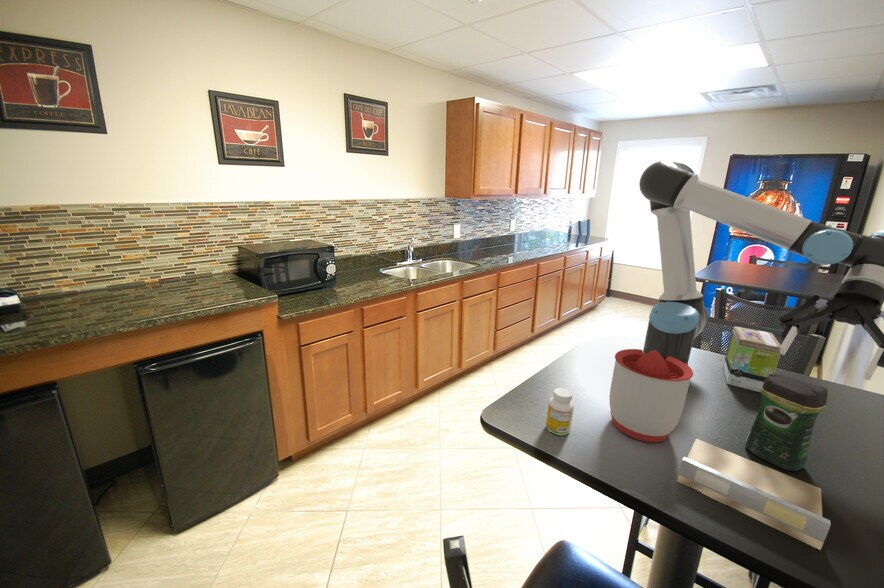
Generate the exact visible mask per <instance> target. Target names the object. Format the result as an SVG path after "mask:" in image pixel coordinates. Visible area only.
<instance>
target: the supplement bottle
mask: <svg viewBox="0 0 884 588" xmlns="http://www.w3.org/2000/svg"><path fill="white" fill-rule="evenodd" d="M572 399H573V393H572V391H571V390H570V389H569V390H568V389H567V388H562V387H559V388H558V387H557V388H555V389H554V390H553V394H552V397H550V399H549V401H548V407H547V416H546V421H545V422H546V423H545V428H546V427H547V428H546V429H548V430H550V431H551V432H553V433H555V434H558V435H566V434H568V433H569V434H570V432H571V426H572V419H573V414H574V413H573V412H574V406H575V405H574V402H573V401H572ZM548 430H547V431H548ZM569 434H568V435H569ZM566 436H567V435H566Z"/></svg>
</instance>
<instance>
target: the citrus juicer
mask: <svg viewBox="0 0 884 588" xmlns="http://www.w3.org/2000/svg"><path fill="white" fill-rule="evenodd" d="M614 359H615V360H614V361H615V362H614V366H613V367H614V368H613V373H612V378H611V383H610V384H611V385H610V389H609V408H610V416H611V419H612V423H613V425H614V426H615V427H616V429H618V430H619V431H620V432H622V433H623V434H625V435H626V436H628V437H631V438H633V439H635V440H638V441H642V442H647V443H659V442H663V441H665V440H666V439H667V438H668V437H669V436H670V435H671V434H672V433H673V432H674V429H675V427H676V426H677V425H678V423H679V421H680V419H681V417H682V413H683V410H684V407H685V403H686V399H687V395H688V392H689V391H688V387H689V383H690V380H691V379H692V378H693V377H694V371H693V369H692V368H691V366H689V364H688V365H687V364H685V363H683V362H682V361H680V360H678V359H676V358H673V357H670V356H668V357H667V358H666V359H665V360H664V359H663V357H662V356H661V355H660V354H659V353H658V352H657V351H656V350H653V351H650V352H648V353H646V354H645V355H644V354H643V349H640V348H639V349H638V348H637V349H636V348H628V349H621V350H618V351H617V352H616V353H615V354H614ZM687 391H688V392H687Z"/></svg>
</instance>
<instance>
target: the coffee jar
mask: <svg viewBox="0 0 884 588" xmlns="http://www.w3.org/2000/svg"><path fill="white" fill-rule="evenodd" d="M760 393H761V402H760V406H759V409H758V412H757V414H756V417H755V419H754V421H753V424H752V426H751V428H750V429H749V432H748V435H747V437H746V440H745V442H744V443H745V445H744V446H745V448H746V449H747V450H748V452H751V454H754V455H755V456H757V457H759V458H760V459H762V460H764V461H766V462H768V463H770V464H771V465H773V466H776V467H777V468H779V469H781V470H785V471H793V472H794V471H799V470H802V469H803V468H805V466H806V465H807V461H808V457H809V452H810V445H811V442H812V441H811V439H812V436H813V435H812V434H813V430H814V425H815V422H816V420H817V417H818V416H819V415H820V414H821V413H822V412H823V411H824V410H825V409H826V407H827V403H828V402H827V401H828V394H829V393H828V388H826V387H825V386H822V385H817V384H814V383H812V382H809V381H807V380H804V379H801V378H799V377H795V376H792V375H790V374H787V373H785V372H782V371H775V373H771V374H769V375H768V376H767V378H766V380H765V382H764V384H763V386H762V387H761V392H760Z"/></svg>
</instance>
